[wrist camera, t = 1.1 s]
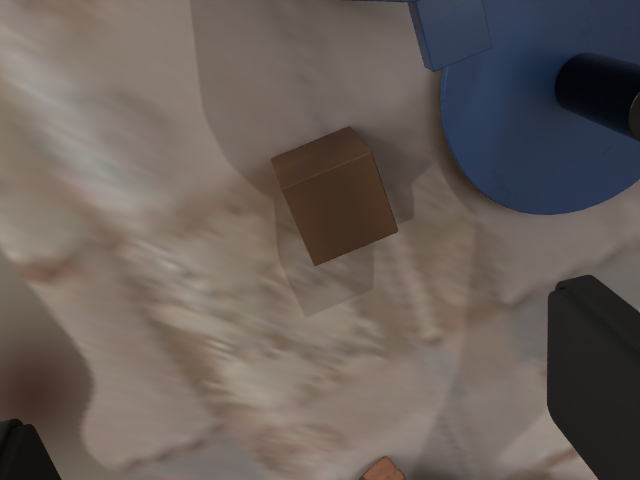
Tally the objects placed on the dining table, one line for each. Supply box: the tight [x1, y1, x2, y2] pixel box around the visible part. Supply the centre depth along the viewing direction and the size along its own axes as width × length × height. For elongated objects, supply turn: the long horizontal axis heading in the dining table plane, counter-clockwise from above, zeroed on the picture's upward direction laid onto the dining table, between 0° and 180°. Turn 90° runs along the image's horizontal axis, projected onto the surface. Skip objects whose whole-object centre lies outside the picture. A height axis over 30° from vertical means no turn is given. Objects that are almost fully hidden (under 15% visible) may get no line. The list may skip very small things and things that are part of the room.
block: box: [272, 127, 398, 266], centre depth 29 cm, size 4×4×4 cm
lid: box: [440, 0, 640, 215], centre depth 28 cm, size 15×15×7 cm
